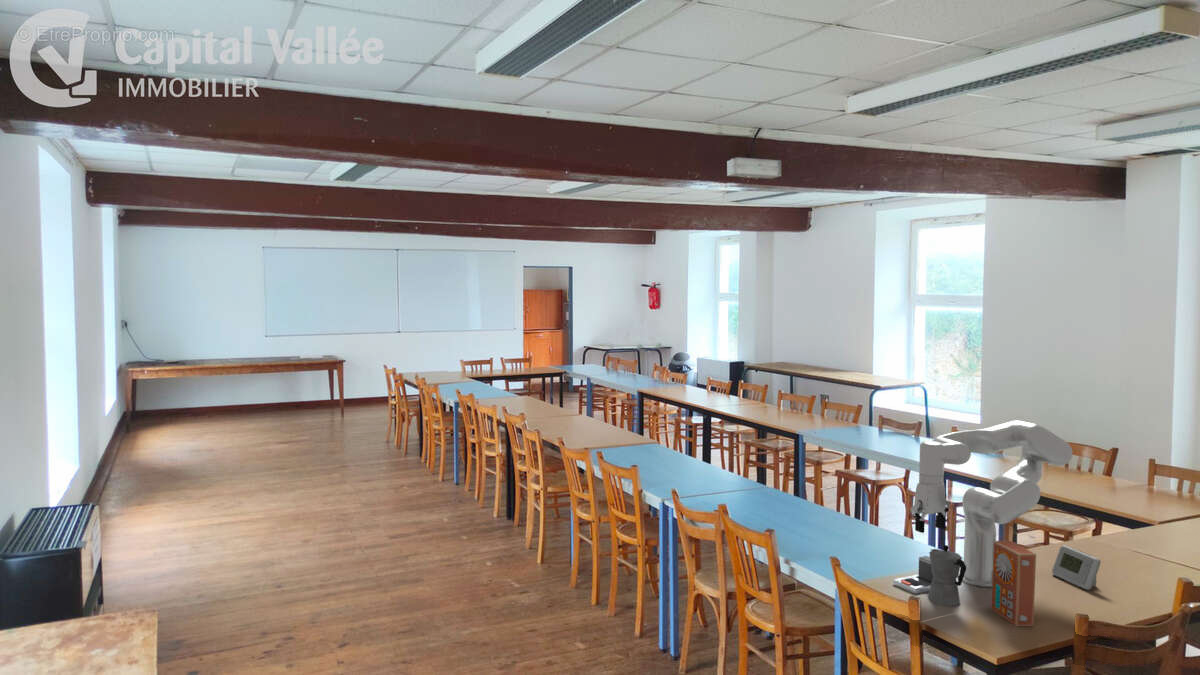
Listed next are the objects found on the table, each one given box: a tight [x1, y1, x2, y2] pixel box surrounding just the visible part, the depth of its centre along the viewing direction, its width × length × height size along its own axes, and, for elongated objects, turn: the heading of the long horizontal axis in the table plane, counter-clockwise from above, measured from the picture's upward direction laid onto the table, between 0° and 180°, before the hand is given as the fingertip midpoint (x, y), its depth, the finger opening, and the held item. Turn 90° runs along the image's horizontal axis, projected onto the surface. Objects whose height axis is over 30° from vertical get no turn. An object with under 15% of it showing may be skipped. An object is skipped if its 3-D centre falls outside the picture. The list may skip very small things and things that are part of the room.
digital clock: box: [1051, 544, 1101, 591], centre depth 258 cm, size 16×9×11 cm, turn 179°
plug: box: [917, 555, 933, 583], centre depth 254 cm, size 4×5×8 cm
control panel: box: [990, 540, 1037, 627], centre depth 228 cm, size 21×7×15 cm
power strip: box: [892, 573, 931, 595], centre depth 253 cm, size 16×9×2 cm, turn 117°
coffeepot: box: [927, 544, 966, 607], centre depth 239 cm, size 15×9×18 cm, turn 14°
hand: (930, 529), depth 254 cm, fingers open, 9 cm apart
